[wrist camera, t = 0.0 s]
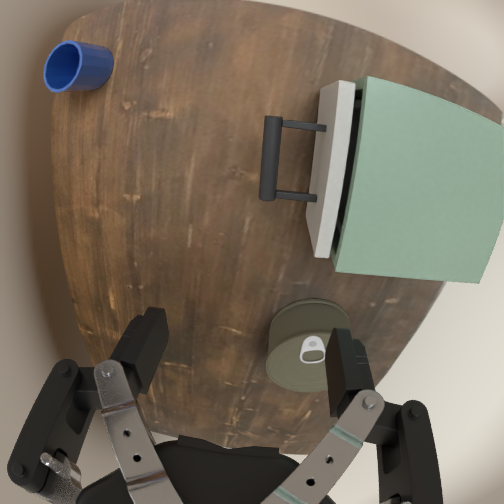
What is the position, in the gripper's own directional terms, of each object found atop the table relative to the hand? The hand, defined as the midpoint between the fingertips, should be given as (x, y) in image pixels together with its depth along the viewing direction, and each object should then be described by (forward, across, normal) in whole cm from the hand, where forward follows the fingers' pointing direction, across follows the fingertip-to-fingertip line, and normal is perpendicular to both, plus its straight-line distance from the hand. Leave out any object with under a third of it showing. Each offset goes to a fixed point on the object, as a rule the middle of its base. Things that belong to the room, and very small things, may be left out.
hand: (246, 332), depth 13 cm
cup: (+20, +21, -16) cm, 33 cm away
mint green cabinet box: (+20, -14, -6) cm, 25 cm away
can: (+20, -8, +18) cm, 29 cm away
